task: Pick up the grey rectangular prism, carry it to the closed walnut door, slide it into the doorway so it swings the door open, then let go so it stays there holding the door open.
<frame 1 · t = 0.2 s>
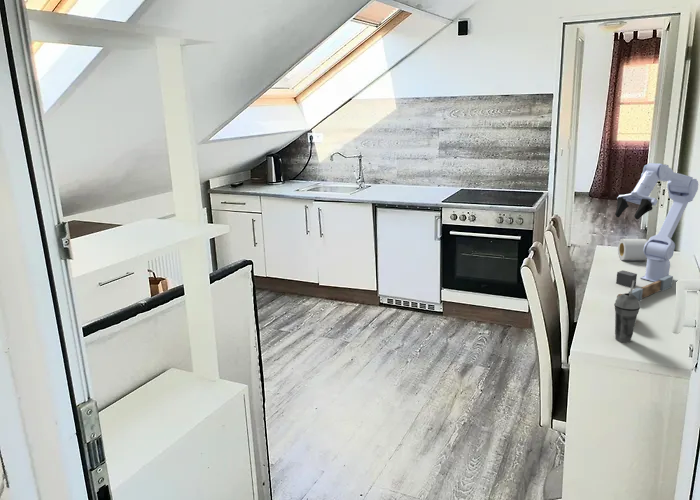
hand: (626, 216, 208), 31 cm above the table, tool tilted 45°, fingers open, 7 cm apart
beverage cup: (622, 340, 177), on the table
grey rectangular prism: (625, 284, 226), on the table
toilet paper: (631, 260, 257), on the table
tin: (624, 321, 192), on the table
door: (650, 289, 213), point 2 cm above the table, hinge at 0.0°
wall frame: (648, 295, 214), on the table
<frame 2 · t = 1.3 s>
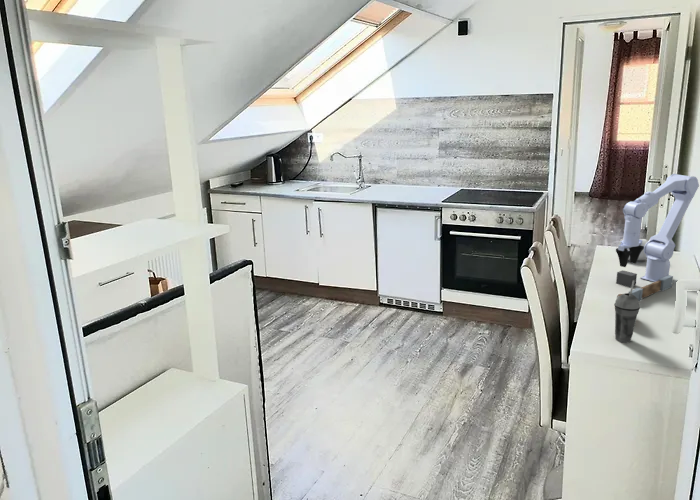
hand: (628, 264, 223), 8 cm above the table, tool pointing down, fingers open, 7 cm apart
nothing on the table moved.
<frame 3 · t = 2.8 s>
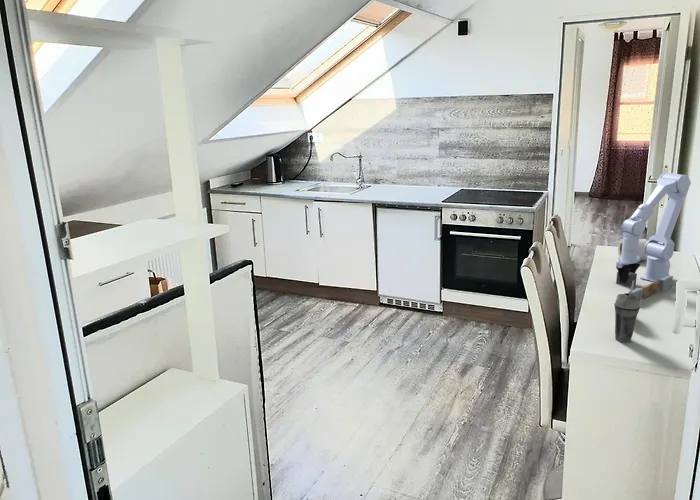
hand: (626, 281, 225), 1 cm above the table, tool pointing down, fingers closed on grey rectangular prism, 4 cm apart
grey rectangular prism: (625, 284, 226), on the table, touching gripper
everything else where it was.
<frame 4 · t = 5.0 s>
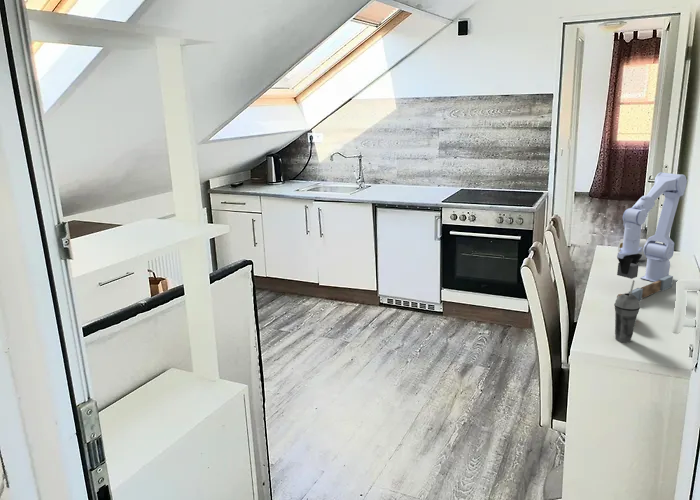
hand: (627, 272, 218), 7 cm above the table, tool pointing down, fingers closed on grey rectangular prism, 4 cm apart
grey rectangular prism: (627, 275, 219), point 6 cm above the table, touching gripper
everything else where it was.
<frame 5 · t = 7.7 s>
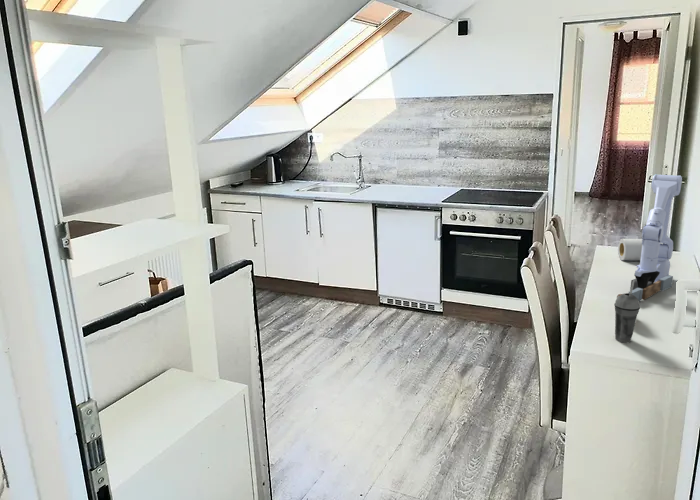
hand: (644, 290, 214), 2 cm above the table, tool pointing down, fingers closed on door, grey rectangular prism, 4 cm apart
grey rectangular prism: (640, 293, 216), on the table, touching gripper
door: (652, 289, 213), point 2 cm above the table, hinge at 5.3°, touching gripper
everything else where it was.
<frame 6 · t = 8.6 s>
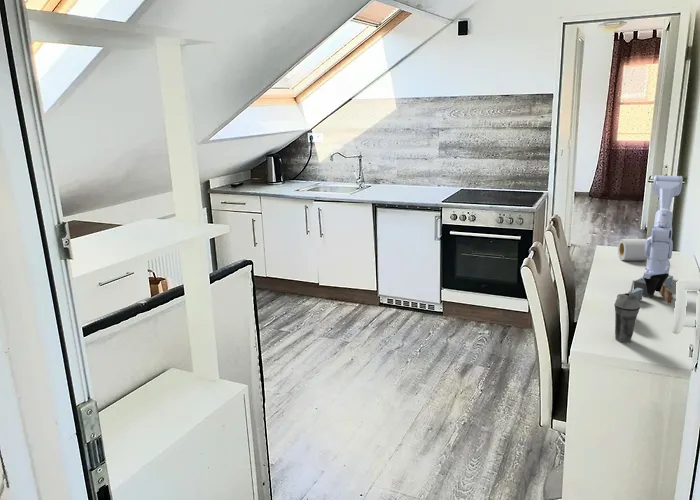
hand: (653, 292, 211), 2 cm above the table, tool pointing down, fingers closed on grey rectangular prism, 4 cm apart
grey rectangular prism: (643, 294, 215), on the table, touching gripper
door: (664, 291, 211), point 2 cm above the table, hinge at 40.6°, touching gripper
everything else where it was.
when the fingers open (2 cm above the table, at t = 9.7 s): grey rectangular prism stays where it is, on the table.
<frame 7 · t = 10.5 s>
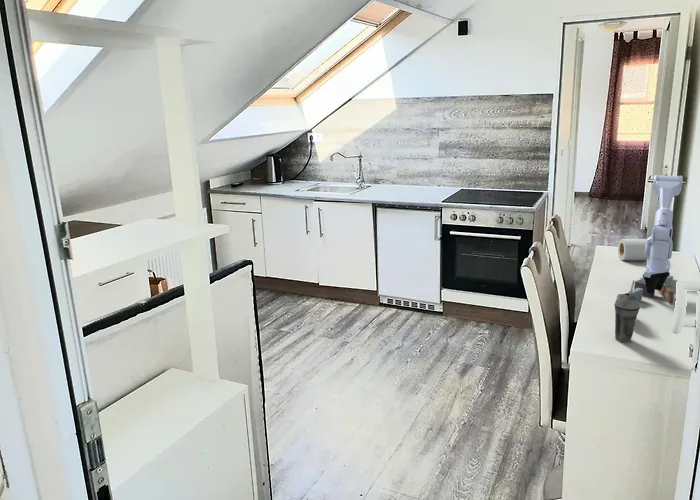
hand: (654, 291, 211), 2 cm above the table, tool pointing down, fingers open, 5 cm apart
grey rectangular prism: (643, 294, 215), on the table
door: (665, 291, 211), point 2 cm above the table, hinge at 42.6°, touching gripper
everything else where it was.
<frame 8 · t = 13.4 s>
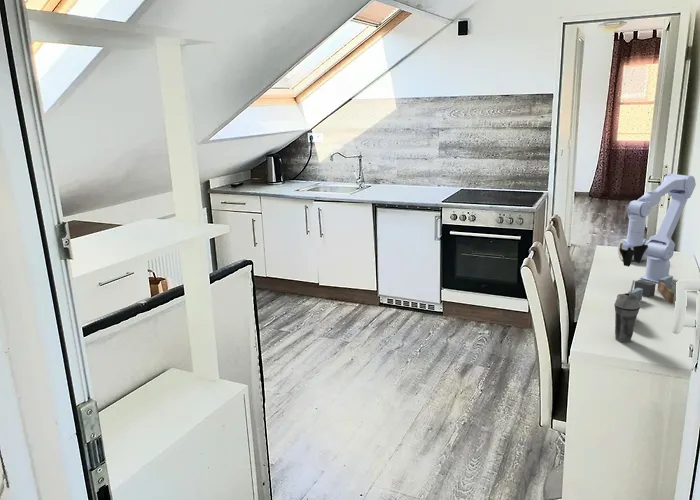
hand: (631, 264, 221), 9 cm above the table, tool pointing down, fingers open, 7 cm apart
door: (665, 291, 211), point 2 cm above the table, hinge at 43.7°
everything else where it was.
at the end: door at +44° (first picture: +0°); grey rectangular prism inside the target area (3.2 cm from its centre), on the table; grey rectangular prism tilted 0° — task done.
